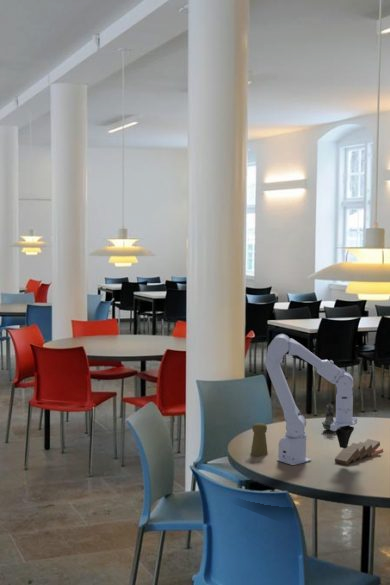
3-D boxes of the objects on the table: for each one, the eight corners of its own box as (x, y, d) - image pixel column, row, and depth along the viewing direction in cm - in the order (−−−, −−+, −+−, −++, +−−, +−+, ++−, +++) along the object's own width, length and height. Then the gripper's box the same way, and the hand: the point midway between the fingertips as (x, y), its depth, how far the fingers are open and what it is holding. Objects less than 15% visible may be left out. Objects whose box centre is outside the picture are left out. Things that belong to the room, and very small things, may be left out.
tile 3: (359, 456, 287) (371, 444, 293) (347, 453, 290) (360, 441, 296) (360, 460, 287) (372, 448, 293) (348, 457, 291) (360, 445, 296)
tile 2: (353, 458, 284) (364, 445, 290) (341, 455, 287) (352, 442, 293) (353, 462, 285) (365, 449, 290) (341, 459, 288) (353, 446, 293)
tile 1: (346, 461, 281) (358, 447, 286) (334, 458, 284) (346, 445, 289) (347, 465, 281) (358, 451, 287) (335, 462, 284) (346, 449, 290)
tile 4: (367, 453, 291) (379, 441, 296) (355, 450, 294) (368, 438, 300) (368, 457, 291) (380, 445, 297) (356, 454, 295) (368, 442, 300)
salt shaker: (319, 432, 326) (320, 402, 325) (324, 429, 331) (325, 400, 330) (334, 434, 323) (334, 404, 322) (338, 431, 328) (339, 401, 327)
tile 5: (371, 453, 293) (383, 448, 299) (359, 450, 296) (371, 446, 303) (371, 457, 293) (383, 452, 300) (359, 455, 296) (371, 450, 303)
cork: (266, 451, 298) (267, 421, 297) (268, 456, 292) (269, 425, 291) (250, 451, 298) (250, 421, 297) (251, 456, 291) (252, 425, 291)
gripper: (343, 413, 274) (342, 453, 275) (365, 406, 284) (364, 445, 286) (325, 410, 278) (324, 450, 279) (347, 403, 289) (346, 441, 290)
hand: (343, 447), depth 283 cm, fingers closed
